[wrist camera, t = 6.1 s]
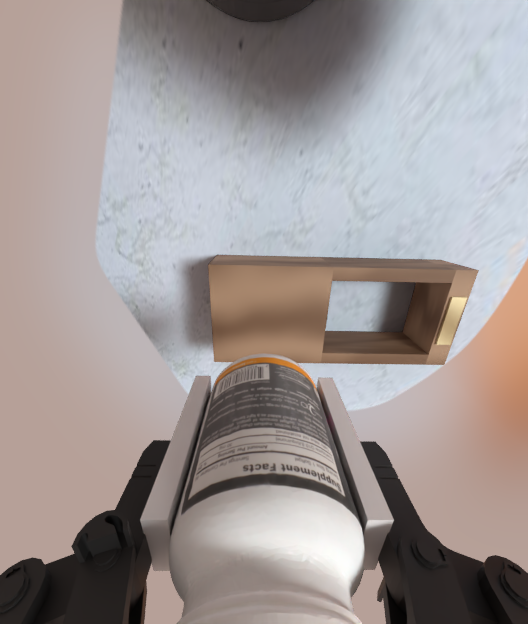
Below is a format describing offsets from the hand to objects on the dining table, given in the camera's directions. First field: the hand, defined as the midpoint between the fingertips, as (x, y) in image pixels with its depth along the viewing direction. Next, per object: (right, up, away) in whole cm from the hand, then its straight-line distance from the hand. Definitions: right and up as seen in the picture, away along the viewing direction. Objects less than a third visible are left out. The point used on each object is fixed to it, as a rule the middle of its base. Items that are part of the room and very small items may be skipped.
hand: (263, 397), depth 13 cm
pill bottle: (0, 0, 0) cm, 1 cm away
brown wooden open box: (+7, +6, +15) cm, 17 cm away
